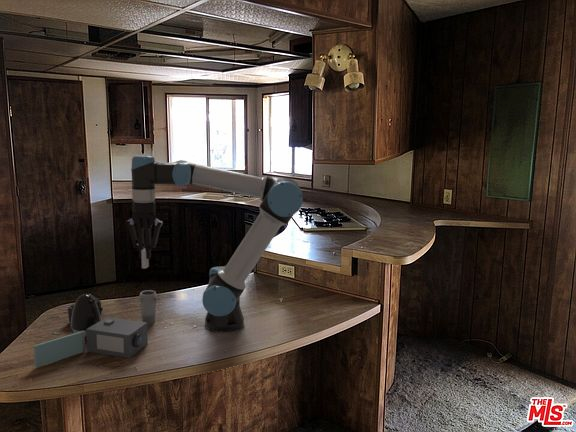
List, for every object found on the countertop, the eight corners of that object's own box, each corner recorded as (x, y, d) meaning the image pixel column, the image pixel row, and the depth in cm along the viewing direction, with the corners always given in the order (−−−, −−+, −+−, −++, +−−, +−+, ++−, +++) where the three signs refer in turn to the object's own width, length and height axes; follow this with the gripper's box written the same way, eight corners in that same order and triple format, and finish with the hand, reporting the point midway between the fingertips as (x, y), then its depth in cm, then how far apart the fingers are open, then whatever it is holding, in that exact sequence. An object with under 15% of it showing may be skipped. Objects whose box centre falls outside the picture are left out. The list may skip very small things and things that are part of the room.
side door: (36, 367, 141) (35, 346, 140) (33, 365, 142) (32, 344, 141) (86, 351, 153) (85, 331, 151) (83, 349, 154) (82, 329, 153)
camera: (87, 328, 172) (86, 303, 170) (65, 325, 174) (63, 300, 173) (109, 315, 185) (108, 291, 183) (88, 312, 187) (87, 289, 185)
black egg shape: (83, 343, 159) (81, 301, 157) (65, 335, 165) (63, 295, 162) (108, 333, 168) (106, 293, 166) (90, 326, 173) (88, 288, 171)
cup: (161, 322, 179) (160, 293, 177) (145, 327, 174) (145, 297, 172) (151, 317, 184) (150, 288, 182) (136, 321, 179) (135, 292, 177)
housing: (151, 344, 160) (150, 320, 158) (133, 359, 149) (132, 333, 148) (107, 338, 164) (106, 314, 162) (86, 351, 153) (85, 327, 152)
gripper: (166, 200, 160) (166, 265, 164) (129, 198, 161) (131, 263, 165) (158, 203, 153) (159, 271, 157) (120, 201, 154) (122, 269, 157)
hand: (145, 267), depth 161 cm, fingers closed
